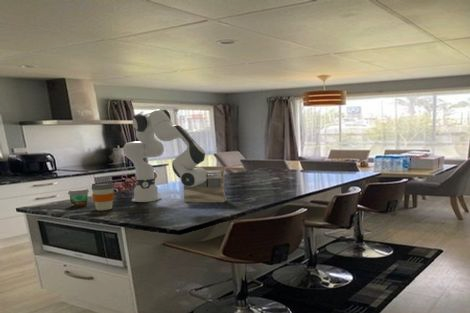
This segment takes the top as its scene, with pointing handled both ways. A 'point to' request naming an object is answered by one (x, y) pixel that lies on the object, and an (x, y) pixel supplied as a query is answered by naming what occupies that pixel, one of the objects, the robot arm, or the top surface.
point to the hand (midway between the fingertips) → (207, 172)
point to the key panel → (206, 189)
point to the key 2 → (214, 183)
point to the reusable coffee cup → (103, 195)
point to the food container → (78, 197)
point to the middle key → (203, 184)
